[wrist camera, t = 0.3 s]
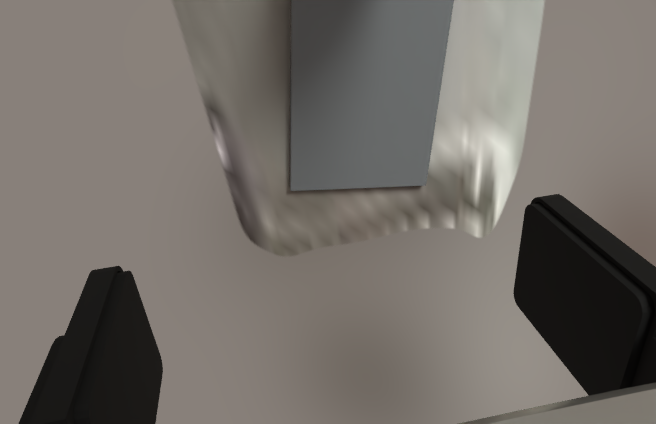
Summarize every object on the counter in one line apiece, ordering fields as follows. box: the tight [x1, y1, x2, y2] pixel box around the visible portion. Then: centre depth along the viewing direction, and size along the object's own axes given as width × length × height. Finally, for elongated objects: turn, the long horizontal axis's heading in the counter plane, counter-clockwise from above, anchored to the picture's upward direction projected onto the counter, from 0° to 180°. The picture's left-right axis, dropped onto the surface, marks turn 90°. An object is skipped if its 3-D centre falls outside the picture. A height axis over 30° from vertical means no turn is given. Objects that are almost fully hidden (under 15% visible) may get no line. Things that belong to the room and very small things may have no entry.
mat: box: [290, 0, 454, 191], centre depth 41 cm, size 17×13×1 cm
